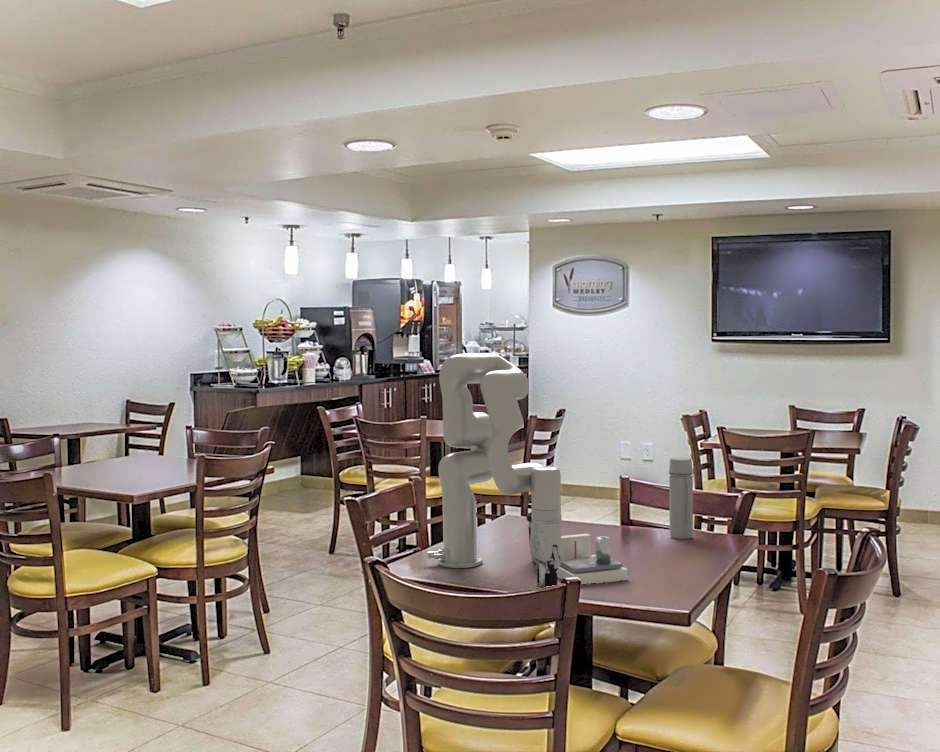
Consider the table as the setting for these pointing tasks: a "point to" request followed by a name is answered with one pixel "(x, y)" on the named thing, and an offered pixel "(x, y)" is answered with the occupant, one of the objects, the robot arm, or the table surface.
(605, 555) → the glass jar
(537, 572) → the robot arm
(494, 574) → the table surface
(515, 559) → the table surface
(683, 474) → the water bottle
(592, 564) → the grey flat plate
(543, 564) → the spacer
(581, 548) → the scale body
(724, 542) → the table surface
